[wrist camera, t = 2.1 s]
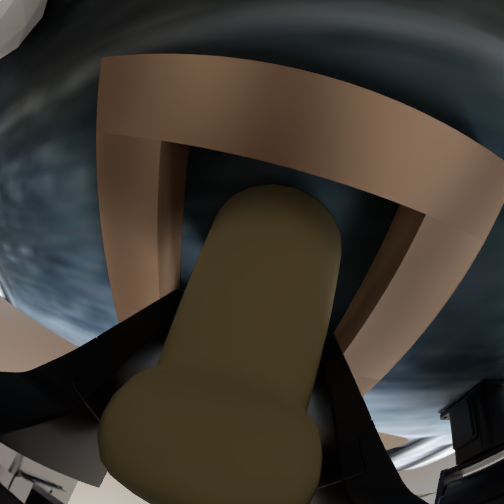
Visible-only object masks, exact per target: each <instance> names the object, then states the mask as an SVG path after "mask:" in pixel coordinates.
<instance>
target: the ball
mask: <svg viewBox="0 0 504 504" xmlns="http://www.w3.org/2000/svg"><path fill="white" fill-rule="evenodd" d="M46 3H47V0H0V59H1V58H2V57H4V56H5V55H7V54H8V53H10V52H12V51H13V50H15V49H16V48H18V47H19V45H20V44H21V43H22V41H23V40H24V39H25V38H26V36H27V35H28V34H29V32H30V31H31V30H32V29H33V28H34V26H35V25H36V24H37V23H38V22H39V20H40V19H41V18H42V17H43V14H44V10H45V7H46Z"/></svg>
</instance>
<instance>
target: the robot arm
mask: <svg viewBox="0 0 504 504" xmlns="http://www.w3.org/2000/svg"><path fill="white" fill-rule="evenodd" d="M184 292H185V291H184V290H181V289H175V290H173V291H172V292H170V293H168V294H167V295H165V296H163V297H162V298H160V299H158V300H157V301H155V302H153V303H152V304H150V305H148V306H147V307H145V308H144V309H142V310H140V311H139V312H137V313H135V314H134V315H132V316H130V317H129V318H127V319H125V320H124V321H122V322H120V323H119V324H117V325H115V326H114V327H112V328H111V329H109V330H107V331H106V332H104V333H102V334H101V335H99V336H98V337H97V338H94V339H92V340H91V341H89V342H87V343H86V344H84V345H82V346H80V347H79V348H77V349H75V350H73V351H71V352H69V353H67V354H65V355H64V356H61V357H59V358H57V359H55V360H52V361H51V362H48V363H46V364H44V365H42V366H39V367H37V368H35V369H33V370H29V371H26V372H17V373H15V372H0V504H67V503H68V501H69V499H70V497H71V495H72V493H73V491H74V488H75V486H76V484H77V482H78V481H81V482H84V483H87V484H90V485H93V486H96V487H99V486H100V485H101V483H102V481H103V479H104V477H105V475H106V473H107V469H106V468H105V466H104V465H103V463H102V462H101V460H100V455H99V448H98V440H97V434H98V429H99V425H100V421H101V416H102V413H103V411H104V410H105V408H106V406H107V405H108V403H109V401H110V399H111V398H112V396H113V394H114V393H115V392H116V391H117V390H119V389H120V388H121V387H122V386H123V385H124V384H125V383H126V382H127V381H128V380H129V379H130V378H131V377H133V376H135V375H136V374H138V373H139V372H141V371H144V370H146V369H149V368H151V367H154V366H156V365H157V363H158V361H159V358H160V355H161V352H162V349H163V347H164V344H165V341H166V339H167V336H168V333H169V330H170V328H171V325H172V323H173V320H174V317H175V315H176V312H177V309H178V307H179V304H180V302H181V299H182V297H183V294H184ZM307 413H308V414H309V416H310V417H311V419H312V420H313V422H314V423H315V425H316V426H317V428H318V430H319V436H320V442H321V449H322V467H321V475H320V482H319V485H318V487H317V490H316V492H315V494H314V496H313V498H312V500H311V502H310V504H429V503H427V502H425V501H424V500H422V499H421V498H419V497H418V496H416V495H415V494H413V493H412V492H411V491H410V490H409V489H408V488H407V487H406V485H405V484H404V482H403V481H402V479H401V477H400V475H399V473H398V472H397V470H396V468H395V466H394V464H393V462H392V460H391V459H390V457H389V455H388V453H387V451H386V449H385V448H384V445H383V443H382V441H381V439H380V437H379V434H378V432H377V430H376V428H375V425H374V423H373V420H371V416H370V413H369V411H368V409H367V406H366V404H365V402H364V399H363V397H362V395H361V392H360V390H359V388H358V385H357V383H356V381H355V379H354V376H353V374H352V372H351V370H350V367H349V365H348V363H347V361H346V359H345V356H344V354H343V352H342V350H341V348H340V345H339V343H338V341H337V339H336V337H335V335H334V334H333V333H329V332H327V335H326V338H325V342H324V346H323V351H322V356H321V361H320V365H319V369H318V373H317V376H316V380H315V384H314V388H313V391H312V395H311V399H310V402H309V406H308V409H307ZM440 419H441V420H450V424H451V432H452V442H453V449H454V450H455V456H456V465H457V466H455V467H452V468H450V469H445V470H442V471H441V473H440V478H439V483H438V488H437V494H436V499H435V504H504V459H502V460H500V461H498V462H496V463H494V464H492V465H490V466H488V467H486V468H484V469H481V470H479V471H477V472H474V473H472V474H470V475H467V476H464V477H463V474H466V473H468V472H471V471H473V470H475V469H478V468H480V467H482V466H485V465H487V464H489V463H491V462H493V461H495V460H497V459H499V458H501V457H503V456H504V381H498V380H484V381H482V382H481V383H479V384H478V385H477V386H476V387H475V388H474V389H472V390H471V391H470V392H469V393H468V394H467V395H465V396H464V397H463V398H462V399H460V400H459V401H458V402H457V403H455V404H454V405H453V406H451V407H450V408H449V409H447V410H446V411H445V412H443V413H442V414H441V415H440Z"/></svg>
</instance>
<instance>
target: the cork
mask: <svg viewBox="0 0 504 504" xmlns="http://www.w3.org/2000/svg"><path fill="white" fill-rule="evenodd" d="M341 254H342V249H341V234H340V232H339V229H338V227H337V225H336V223H335V220H334V218H333V216H332V215H331V214H330V212H329V211H328V210H327V209H326V208H325V207H324V206H323V205H322V204H321V203H320V202H319V201H318V200H317V199H315V198H314V197H312V196H310V195H308V194H306V193H304V192H302V191H301V190H299V189H297V188H292V187H287V186H282V185H276V184H269V185H261V186H253V187H249V188H247V189H245V190H243V191H241V192H239V193H237V194H235V195H233V196H232V197H231V198H230V199H229V200H228V201H227V202H226V203H225V204H224V205H223V206H222V207H221V208H220V209H219V211H218V213H217V215H216V218H215V220H214V222H213V224H212V227H211V229H210V231H209V234H208V236H207V238H206V241H205V243H204V245H203V248H202V250H201V252H200V255H199V257H198V260H197V262H196V264H195V267H194V269H193V272H192V274H191V277H190V279H189V282H188V284H187V287H186V289H185V292H184V294H183V297H182V299H181V302H180V304H179V307H178V309H177V312H176V315H175V317H174V320H173V323H172V325H171V328H170V330H169V333H168V336H167V339H166V341H165V344H164V347H163V349H162V352H161V355H160V358H159V361H158V363H157V365H156V366H154V367H151V368H149V369H146V370H144V371H141V372H139V373H138V374H136V375H135V376H133V377H131V378H130V379H129V380H128V381H127V382H126V383H125V384H124V385H123V386H122V387H121V388H120V389H119V390H117V391H116V392H115V393H114V394H113V396H112V398H111V399H110V401H109V403H108V405H107V406H106V408H105V410H104V411H103V413H102V416H101V421H100V425H99V429H98V434H97V440H98V448H99V455H100V460H101V462H102V463H103V465H104V466H105V468H106V469H107V471H108V472H109V473H110V475H111V476H112V477H113V478H115V479H116V480H117V481H118V482H120V483H121V484H122V485H123V486H125V487H126V488H127V489H129V490H130V491H131V492H132V493H134V494H135V495H137V496H138V497H140V498H142V499H143V500H145V501H147V502H148V503H150V504H310V502H311V500H312V498H313V496H314V494H315V492H316V490H317V487H318V485H319V482H320V475H321V467H322V449H321V442H320V436H319V430H318V428H317V426H316V425H315V423H314V422H313V420H312V419H311V417H310V416H309V414H308V413H307V409H308V406H309V402H310V399H311V395H312V391H313V388H314V384H315V380H316V376H317V373H318V369H319V365H320V361H321V356H322V351H323V346H324V342H325V338H326V335H327V330H328V326H329V321H330V316H331V311H332V306H333V301H334V296H335V290H336V284H337V279H338V273H339V267H340V260H341Z"/></svg>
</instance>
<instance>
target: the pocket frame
mask: <svg viewBox="0 0 504 504" xmlns="http://www.w3.org/2000/svg"><path fill="white" fill-rule="evenodd" d="M189 145H191V146H197V147H202V148H207V149H212V150H217V151H222V152H226V153H231V154H236V155H240V156H244V157H249V158H253V159H257V160H261V161H265V162H269V163H273V164H277V165H281V166H285V167H288V168H292V169H295V170H299V171H303V172H306V173H310V174H313V175H316V176H320V177H323V178H326V179H329V180H333V181H336V182H339V183H342V184H345V185H348V186H351V187H354V188H357V189H360V190H363V191H366V192H369V193H372V194H374V195H377V196H380V197H383V198H385V199H388V200H391V201H393V202H396V203H399V204H400V205H399V207H398V210H397V212H396V214H395V216H394V219H393V221H392V223H391V225H390V228H389V230H388V232H387V234H386V236H385V238H384V240H383V243H382V245H381V247H380V249H379V251H378V253H377V255H376V257H375V259H374V261H373V263H372V265H371V267H370V269H369V271H368V273H367V274H366V276H365V278H364V280H363V282H362V284H361V286H360V288H359V289H358V291H357V293H356V295H355V297H354V298H353V300H352V302H351V304H350V306H349V307H348V309H347V311H346V312H345V314H344V316H343V318H342V319H341V321H340V323H339V324H338V326H337V328H336V329H335V331H334V333H333V334H334V335H335V337H336V339H337V341H338V343H339V345H340V348H341V350H342V352H343V354H344V356H345V359H346V361H347V363H348V365H349V367H350V370H351V372H352V374H353V376H354V379H355V381H356V383H357V385H358V388H359V390H360V392H361V395H362V397H363V396H364V395H365V394H366V393H367V392H368V391H369V390H371V389H372V388H373V387H374V386H375V385H376V384H377V383H378V382H379V381H380V380H381V379H382V378H383V377H384V376H385V375H386V374H387V373H388V372H389V371H390V370H391V368H392V367H393V366H394V365H395V364H396V363H397V362H398V361H399V360H400V359H401V358H402V357H403V356H404V354H405V353H406V352H407V351H408V350H409V349H410V348H411V346H412V345H413V344H414V343H415V342H416V341H417V339H418V338H419V337H420V336H421V335H422V333H423V332H424V331H425V330H426V328H427V327H428V326H429V325H430V323H431V322H432V321H433V320H434V318H435V317H436V316H437V314H438V313H439V312H440V310H441V309H442V308H443V306H444V305H445V304H446V302H447V301H448V299H449V298H450V296H451V295H452V294H453V292H454V291H455V289H456V288H457V286H458V285H459V283H460V282H461V280H462V279H463V277H464V276H465V274H466V272H467V271H468V269H469V268H470V266H471V264H472V263H473V261H474V259H475V258H476V256H477V254H478V252H479V251H480V249H481V247H482V245H483V243H484V242H485V240H486V238H487V236H488V234H489V232H490V230H491V228H492V226H493V224H494V222H495V220H496V218H497V216H498V214H499V212H500V210H501V208H502V205H503V203H504V161H503V160H502V159H501V158H499V157H498V156H496V155H495V154H494V153H492V152H491V151H489V150H488V149H486V148H485V147H483V146H482V145H480V144H478V143H477V142H475V141H474V140H472V139H470V138H469V137H467V136H466V135H464V134H462V133H460V132H459V131H457V130H455V129H453V128H452V127H450V126H448V125H446V124H444V123H442V122H441V121H439V120H437V119H435V118H433V117H431V116H429V115H427V114H425V113H423V112H421V111H419V110H416V109H414V108H412V107H410V106H408V105H405V104H403V103H401V102H398V101H396V100H394V99H391V98H389V97H386V96H384V95H381V94H379V93H376V92H373V91H371V90H368V89H365V88H362V87H359V86H356V85H353V84H350V83H347V82H344V81H341V80H338V79H334V78H331V77H327V76H324V75H320V74H316V73H313V72H309V71H304V70H300V69H296V68H291V67H287V66H282V65H277V64H271V63H266V62H260V61H254V60H247V59H239V58H231V57H221V56H210V55H195V54H135V55H120V56H109V57H102V59H101V67H100V76H99V87H98V100H97V122H96V162H97V185H98V199H99V210H100V220H101V229H102V237H103V244H104V251H105V257H106V264H107V269H108V275H109V280H110V286H111V290H112V295H113V300H114V304H115V309H116V313H117V317H118V321H119V323H120V322H122V321H124V320H125V319H127V318H129V317H130V316H132V315H134V314H135V313H137V312H139V311H140V310H142V309H144V308H145V307H147V306H148V305H150V304H152V303H153V302H155V301H157V300H158V299H160V298H162V297H163V296H165V295H167V294H168V293H170V292H172V291H173V290H175V289H180V268H181V243H182V225H183V210H184V196H185V184H186V173H187V163H188V154H189Z"/></svg>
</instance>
